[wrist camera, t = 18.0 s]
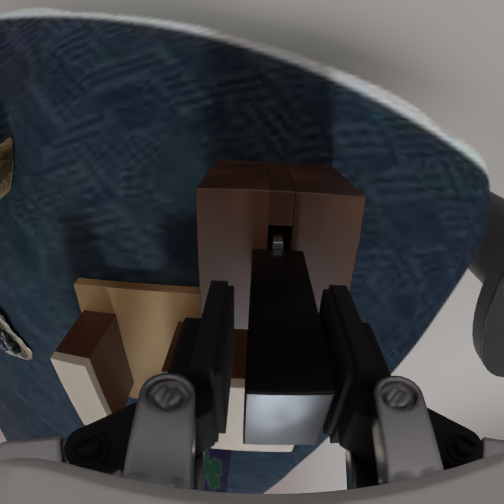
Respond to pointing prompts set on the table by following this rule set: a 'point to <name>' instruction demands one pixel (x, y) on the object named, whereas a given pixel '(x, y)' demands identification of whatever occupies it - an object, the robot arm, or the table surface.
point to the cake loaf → (232, 397)
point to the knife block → (275, 213)
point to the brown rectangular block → (94, 366)
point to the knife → (284, 351)
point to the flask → (216, 469)
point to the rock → (6, 166)
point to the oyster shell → (12, 342)
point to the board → (141, 318)
